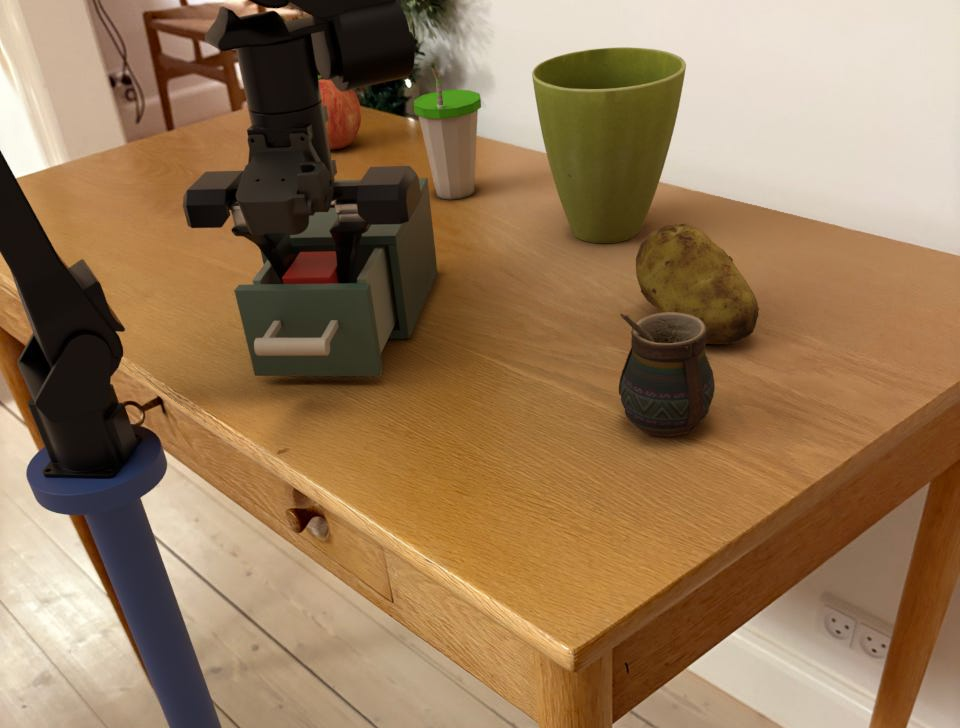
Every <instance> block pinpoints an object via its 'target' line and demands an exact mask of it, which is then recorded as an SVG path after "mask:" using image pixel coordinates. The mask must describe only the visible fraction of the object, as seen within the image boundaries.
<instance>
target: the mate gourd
mask: <svg viewBox="0 0 960 728" xmlns="http://www.w3.org/2000/svg"><path fill="white" fill-rule="evenodd" d="M619 316H620V317H621V318H622V319H623V320H624V321H625V323H627V324H628V325H629V326H630V327H631V331H630V335H631V340H630V342H631V343H630V345H631V347H630V349H629V352H628V354H627V357H626V360H625V363H624V364H623V365H624V366H623V368H622V370H621V373H620V377H619V382H618V394H619V396H620V402H621V404H622V407H623V408H624V415H625V417H626V418H627V420H628V421H629V422H630V423H631V424H632V425H633V426H634V427H636V428H638V429H639V430H640V431H642V432H643V433H645V434H648V435H652V436H656V437H674V436H681V435H683V436H686V434H687V435H689V434H690V433H691V432H692V431H695V429H696V428H698V426H699V425H700V423H701V422H702V421H703V420H704V419H705V418H706V417H707V415H708V414H709V411H710V407H711V405H712V403H713V399H714V395H715V389H716V388H715V387H716V386H715V385H716V384H715V377H714V370H713V369H712V367H711V364H710V361H709V359H708V357H707V354H706V345H707V344H706V334H707V327H706V325H705V323H704V322H703V321H702V320H701V319H699V318H697V317H695V316H692V315H689V314H684V313H677V312H664V313H659V312H658V313H653V314H650V315H647V316H645V317H643V318H641V319H640V320H638V321H637V322H635V321H634V320H633V319H631V317H630V315H625V314H623V313H619Z"/></svg>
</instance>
